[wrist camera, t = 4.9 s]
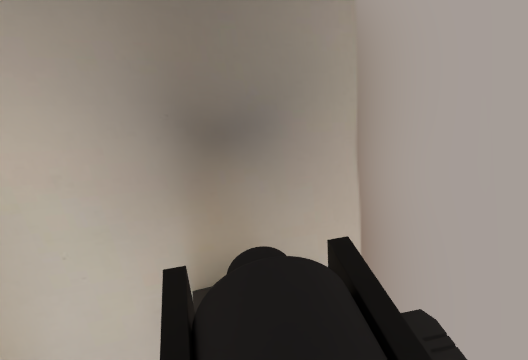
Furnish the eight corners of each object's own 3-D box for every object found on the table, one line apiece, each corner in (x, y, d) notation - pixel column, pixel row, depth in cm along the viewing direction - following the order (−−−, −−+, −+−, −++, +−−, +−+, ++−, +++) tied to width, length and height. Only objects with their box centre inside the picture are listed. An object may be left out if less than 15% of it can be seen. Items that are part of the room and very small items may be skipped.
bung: (177, 226, 14) (182, 444, 8) (324, 201, 15) (447, 382, 8) (200, 340, 17) (219, 587, 10) (328, 314, 17) (427, 528, 10)
